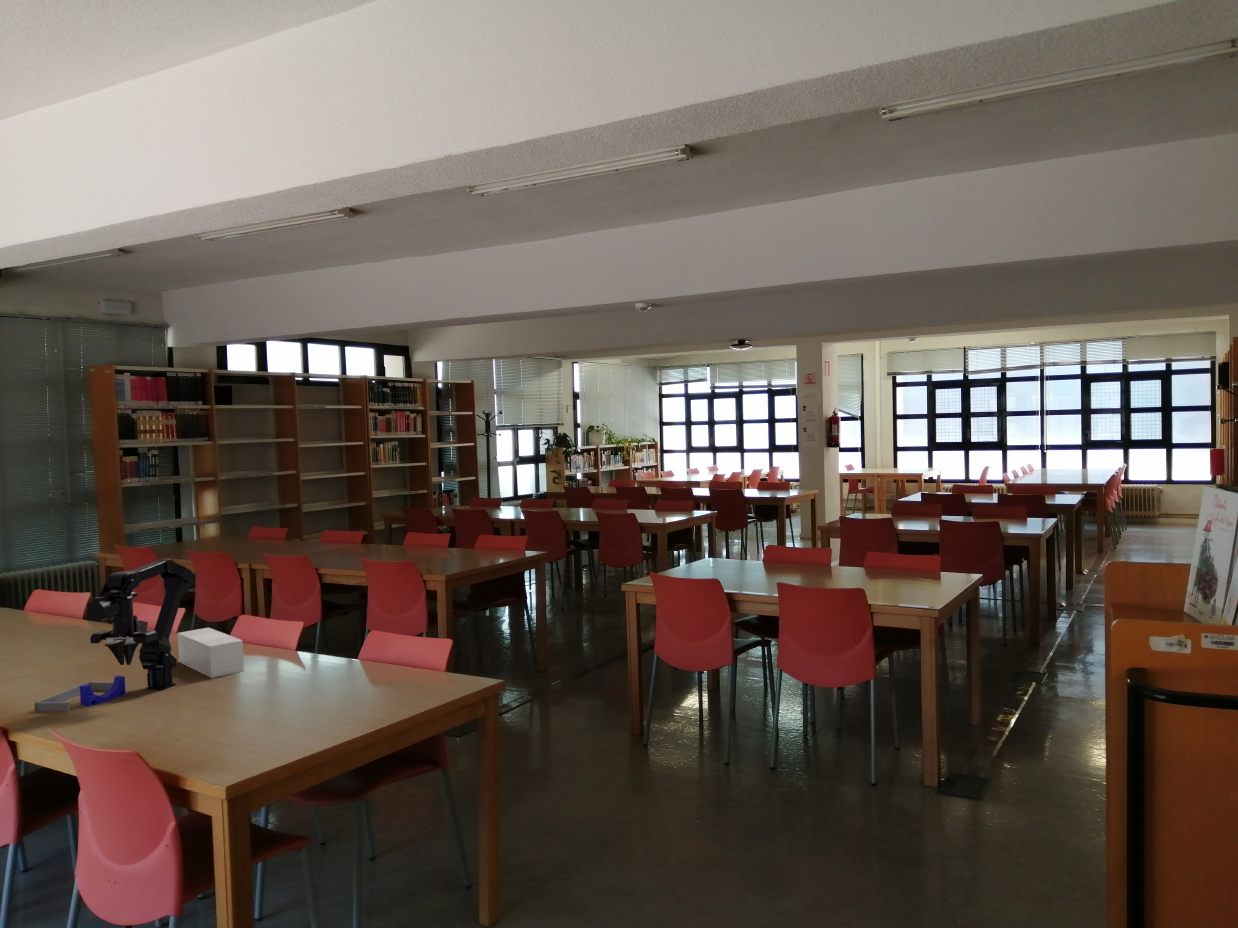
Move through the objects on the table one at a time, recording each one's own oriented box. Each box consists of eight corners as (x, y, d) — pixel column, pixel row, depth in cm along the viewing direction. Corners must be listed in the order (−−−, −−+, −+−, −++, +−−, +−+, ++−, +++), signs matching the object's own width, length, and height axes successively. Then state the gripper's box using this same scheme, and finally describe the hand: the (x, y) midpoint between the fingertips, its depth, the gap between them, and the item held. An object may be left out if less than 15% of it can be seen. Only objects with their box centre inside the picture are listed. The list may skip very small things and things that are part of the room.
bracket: (120, 689, 279) (119, 681, 279) (67, 711, 258) (67, 703, 258) (89, 689, 281) (89, 681, 281) (35, 711, 259) (34, 702, 259)
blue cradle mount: (89, 707, 262) (88, 687, 262) (80, 705, 265) (79, 685, 264) (128, 695, 273) (127, 676, 272) (120, 694, 275) (119, 675, 275)
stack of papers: (244, 671, 298) (242, 640, 297) (211, 678, 290) (209, 646, 290) (210, 656, 321) (208, 627, 320) (179, 662, 313) (177, 632, 313)
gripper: (168, 608, 273) (170, 657, 273) (113, 608, 275) (116, 657, 276) (143, 615, 262) (146, 667, 262) (87, 616, 264) (90, 667, 265)
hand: (125, 664), depth 267 cm, fingers closed
